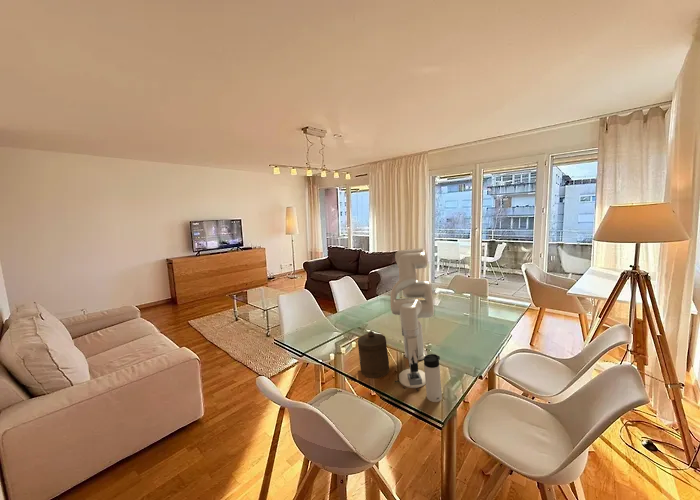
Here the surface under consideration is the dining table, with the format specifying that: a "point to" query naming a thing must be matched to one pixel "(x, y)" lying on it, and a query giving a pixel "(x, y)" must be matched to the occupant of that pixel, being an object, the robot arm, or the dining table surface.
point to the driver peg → (413, 374)
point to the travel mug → (433, 377)
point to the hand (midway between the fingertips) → (413, 368)
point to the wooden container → (373, 355)
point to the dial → (412, 379)
